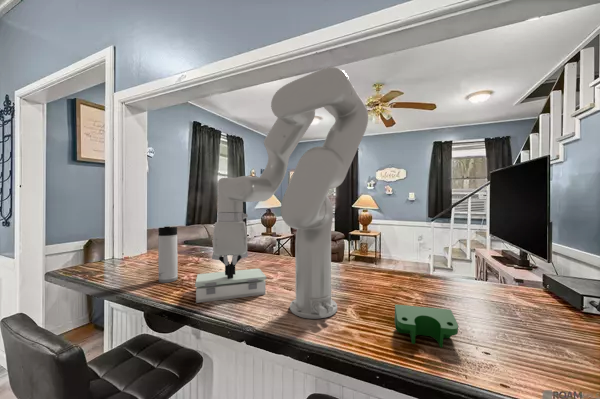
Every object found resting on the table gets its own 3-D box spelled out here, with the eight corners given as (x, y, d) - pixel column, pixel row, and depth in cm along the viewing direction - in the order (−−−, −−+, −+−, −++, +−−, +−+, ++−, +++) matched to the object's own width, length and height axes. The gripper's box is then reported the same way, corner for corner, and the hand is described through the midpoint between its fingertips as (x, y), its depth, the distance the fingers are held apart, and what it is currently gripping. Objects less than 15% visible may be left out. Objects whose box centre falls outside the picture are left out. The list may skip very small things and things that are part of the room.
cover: (267, 280, 79) (266, 277, 79) (194, 288, 72) (194, 284, 72) (259, 270, 92) (259, 268, 92) (197, 276, 85) (197, 273, 85)
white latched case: (266, 295, 79) (266, 282, 79) (195, 303, 73) (195, 290, 73) (259, 282, 91) (258, 271, 91) (198, 289, 85) (198, 277, 85)
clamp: (407, 361, 53) (389, 325, 52) (403, 339, 59) (387, 306, 58) (469, 350, 49) (451, 310, 48) (459, 328, 55) (442, 291, 54)
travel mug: (157, 284, 91) (156, 227, 91) (159, 278, 97) (159, 225, 97) (176, 282, 93) (176, 226, 93) (178, 276, 99) (177, 224, 99)
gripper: (252, 216, 86) (252, 271, 86) (204, 217, 81) (204, 276, 81) (256, 218, 79) (256, 278, 79) (204, 219, 74) (204, 283, 74)
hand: (230, 277), depth 80 cm, fingers closed
